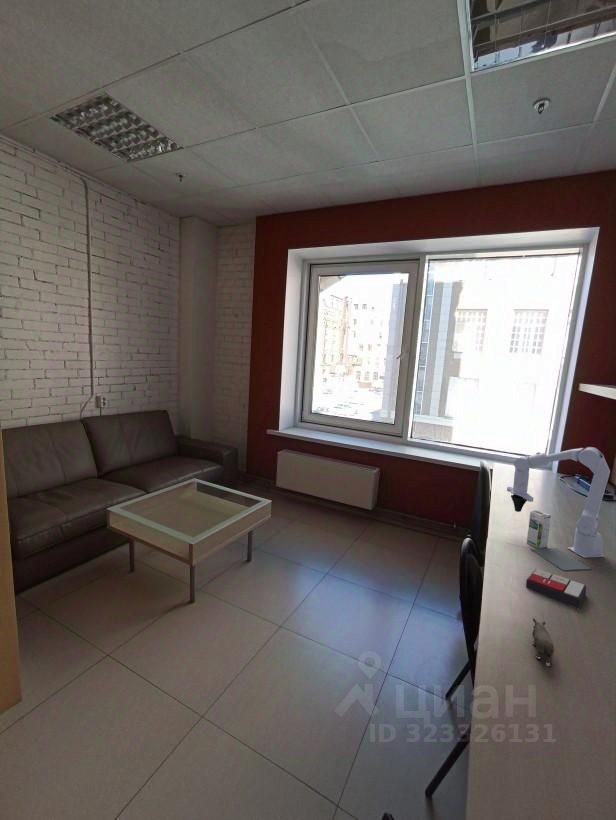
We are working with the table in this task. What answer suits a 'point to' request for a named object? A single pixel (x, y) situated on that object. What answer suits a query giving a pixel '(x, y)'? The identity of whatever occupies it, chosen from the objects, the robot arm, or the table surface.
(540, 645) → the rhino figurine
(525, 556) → the table surface
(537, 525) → the syrup box
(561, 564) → the mat
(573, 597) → the red and white box
